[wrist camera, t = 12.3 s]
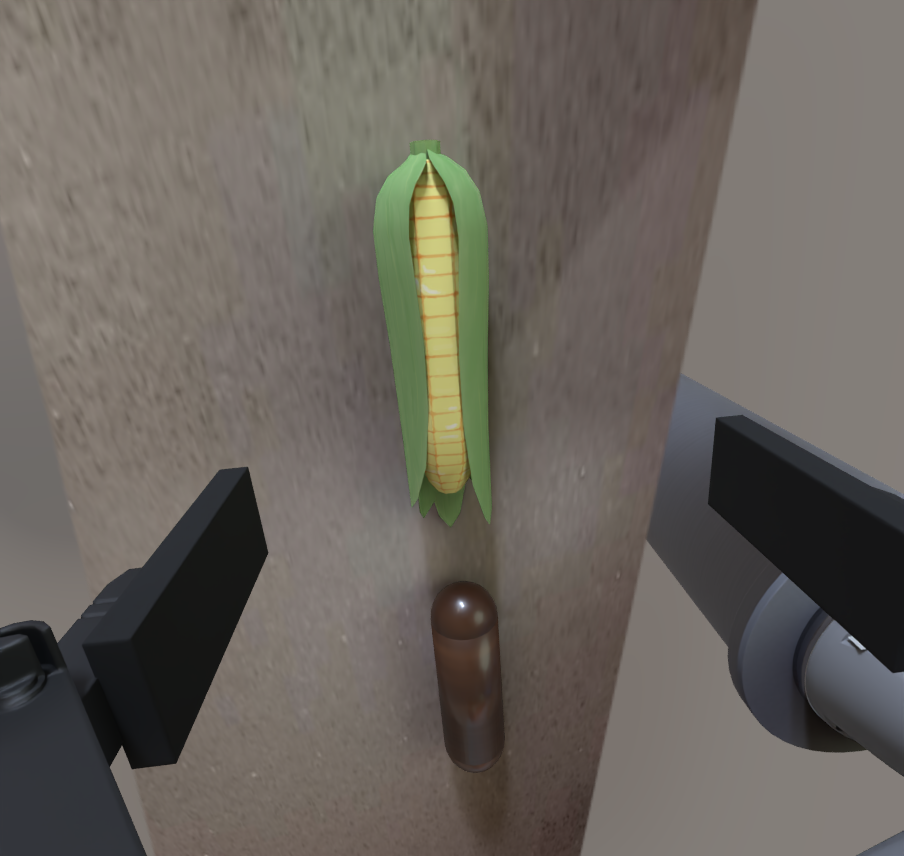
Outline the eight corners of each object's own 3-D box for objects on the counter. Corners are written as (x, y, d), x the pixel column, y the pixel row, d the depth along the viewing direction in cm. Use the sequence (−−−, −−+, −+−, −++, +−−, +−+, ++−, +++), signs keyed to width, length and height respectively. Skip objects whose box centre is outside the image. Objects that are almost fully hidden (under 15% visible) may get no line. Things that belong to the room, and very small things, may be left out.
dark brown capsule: (426, 571, 33) (429, 615, 30) (490, 564, 34) (501, 606, 30) (444, 736, 38) (449, 791, 35) (500, 728, 39) (510, 783, 35)
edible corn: (478, 146, 25) (493, 131, 21) (493, 519, 32) (506, 563, 28) (367, 153, 25) (360, 138, 21) (407, 527, 32) (408, 574, 28)
